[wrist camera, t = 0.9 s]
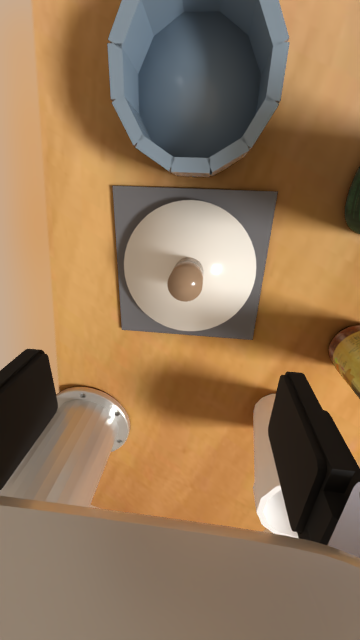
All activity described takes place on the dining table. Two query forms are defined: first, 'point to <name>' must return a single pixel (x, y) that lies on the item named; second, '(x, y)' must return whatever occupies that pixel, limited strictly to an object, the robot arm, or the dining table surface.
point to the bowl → (196, 78)
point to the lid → (190, 265)
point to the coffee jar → (353, 205)
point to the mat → (243, 205)
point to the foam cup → (268, 474)
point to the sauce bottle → (347, 356)
